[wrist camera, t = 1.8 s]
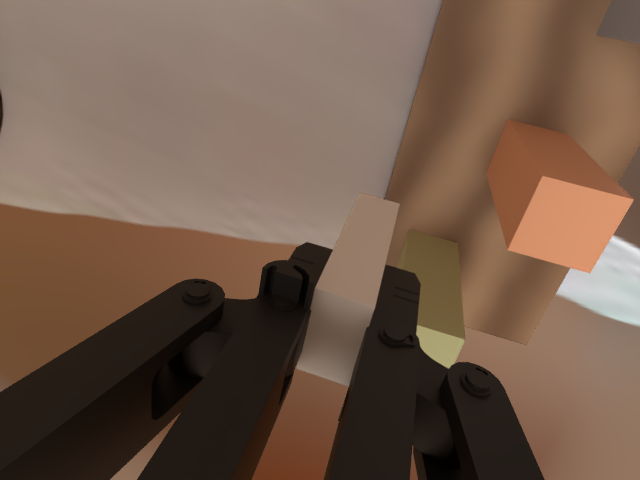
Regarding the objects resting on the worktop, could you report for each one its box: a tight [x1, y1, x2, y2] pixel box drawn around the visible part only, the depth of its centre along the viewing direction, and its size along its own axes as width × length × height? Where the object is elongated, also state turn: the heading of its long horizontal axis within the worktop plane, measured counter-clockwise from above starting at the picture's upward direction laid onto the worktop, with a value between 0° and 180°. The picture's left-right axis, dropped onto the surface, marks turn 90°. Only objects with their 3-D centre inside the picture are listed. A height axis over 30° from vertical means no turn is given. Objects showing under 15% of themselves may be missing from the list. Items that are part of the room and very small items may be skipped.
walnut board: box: [385, 0, 640, 345], centre depth 32 cm, size 15×31×1 cm, turn 169°
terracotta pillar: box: [486, 120, 634, 273], centre depth 26 cm, size 4×4×12 cm
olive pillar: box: [396, 229, 465, 369], centre depth 32 cm, size 4×4×12 cm
